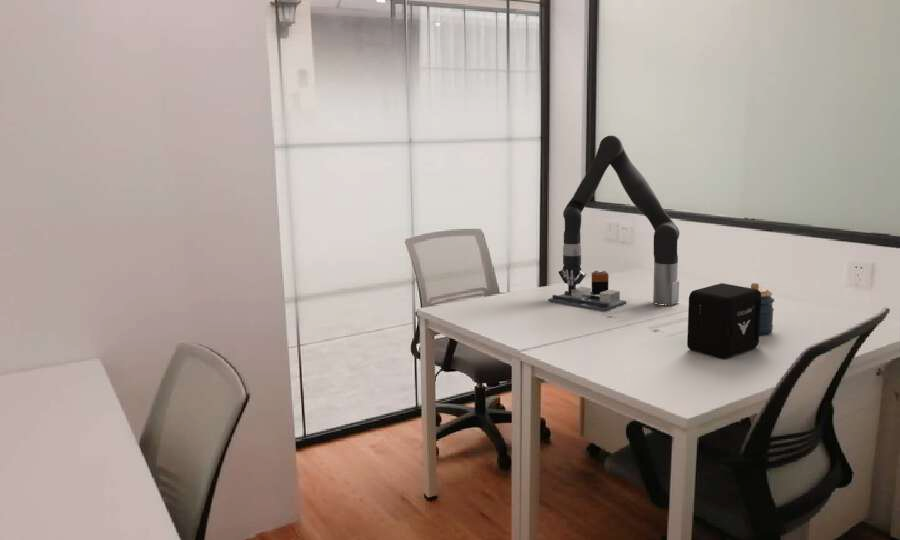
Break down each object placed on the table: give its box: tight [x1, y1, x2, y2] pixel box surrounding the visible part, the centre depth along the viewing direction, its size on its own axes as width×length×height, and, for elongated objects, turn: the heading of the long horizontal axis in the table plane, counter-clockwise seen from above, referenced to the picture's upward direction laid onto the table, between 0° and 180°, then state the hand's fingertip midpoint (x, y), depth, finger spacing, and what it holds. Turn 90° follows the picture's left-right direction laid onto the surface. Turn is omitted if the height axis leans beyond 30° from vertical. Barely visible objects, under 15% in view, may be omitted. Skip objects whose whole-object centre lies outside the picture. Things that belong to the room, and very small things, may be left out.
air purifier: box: [686, 282, 761, 359], centre depth 235 cm, size 20×15×20 cm
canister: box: [746, 282, 775, 337], centre depth 255 cm, size 13×13×18 cm
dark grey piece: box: [547, 289, 627, 313], centre depth 303 cm, size 28×16×6 cm, turn 46°
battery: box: [591, 270, 609, 295], centre depth 319 cm, size 4×7×10 cm, turn 88°
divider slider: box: [571, 286, 592, 300], centre depth 304 cm, size 5×10×4 cm, turn 136°
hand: (571, 293), depth 308 cm, fingers closed
